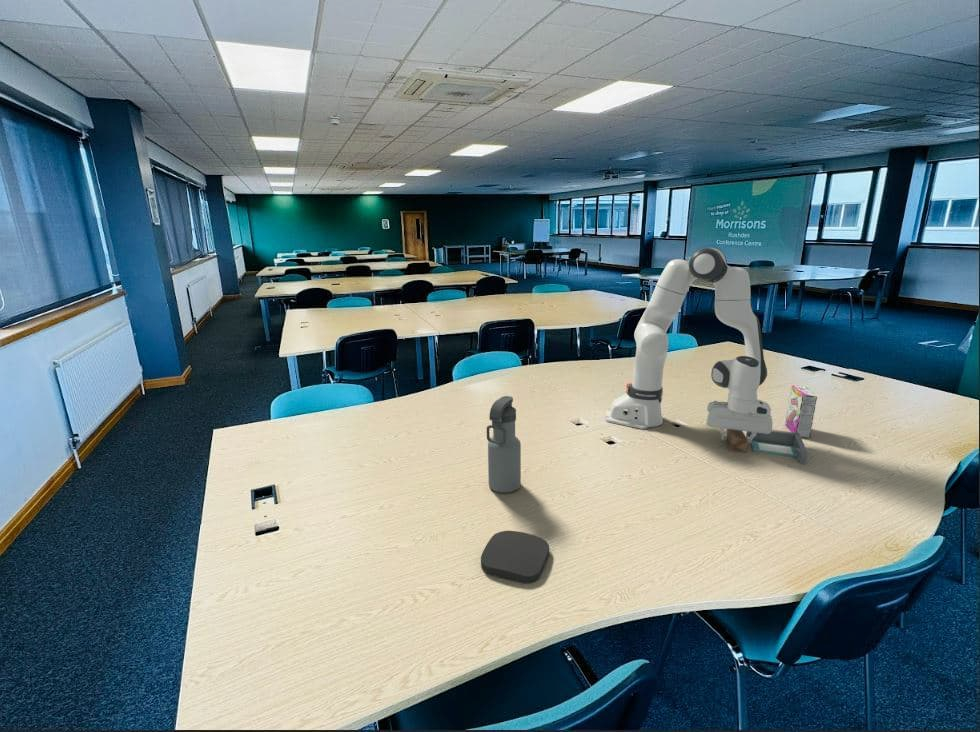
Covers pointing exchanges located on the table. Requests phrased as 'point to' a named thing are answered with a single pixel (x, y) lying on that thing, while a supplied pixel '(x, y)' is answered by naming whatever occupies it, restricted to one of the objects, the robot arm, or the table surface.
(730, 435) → the walnut block
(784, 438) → the corner bracket
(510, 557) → the media streaming box
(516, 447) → the water bottle
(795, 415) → the candy bar box
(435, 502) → the table surface
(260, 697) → the table surface
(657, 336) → the robot arm
